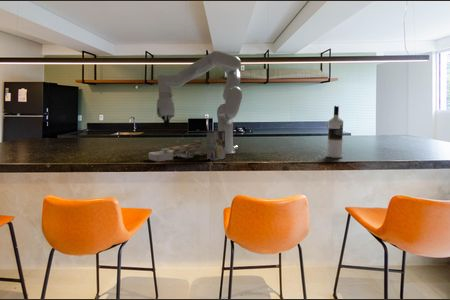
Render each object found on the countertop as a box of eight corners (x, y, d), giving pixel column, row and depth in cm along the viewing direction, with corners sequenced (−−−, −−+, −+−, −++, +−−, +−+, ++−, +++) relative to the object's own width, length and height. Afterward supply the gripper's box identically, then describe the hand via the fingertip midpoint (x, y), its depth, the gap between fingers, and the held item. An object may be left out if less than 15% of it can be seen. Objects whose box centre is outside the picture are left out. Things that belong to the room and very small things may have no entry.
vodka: (332, 155, 187) (334, 105, 183) (345, 157, 180) (348, 105, 175) (322, 156, 182) (324, 105, 178) (335, 158, 175) (338, 105, 170)
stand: (190, 152, 200) (189, 146, 200) (205, 155, 188) (205, 149, 188) (162, 156, 187) (161, 149, 186) (177, 159, 174) (177, 152, 174)
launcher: (188, 145, 200) (188, 139, 199) (202, 147, 189) (201, 141, 188) (160, 150, 186) (159, 144, 185) (173, 153, 175) (172, 146, 175)
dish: (163, 157, 181) (163, 150, 181) (173, 159, 174) (173, 152, 173) (148, 159, 175) (148, 152, 174) (157, 161, 167) (157, 154, 167)
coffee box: (217, 157, 181) (217, 130, 179) (225, 158, 177) (225, 130, 175) (206, 159, 174) (206, 131, 172) (214, 160, 170) (214, 131, 168)
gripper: (172, 96, 190) (173, 125, 193) (150, 96, 180) (152, 127, 183) (179, 95, 185) (180, 126, 187) (157, 95, 175) (159, 128, 177)
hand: (166, 126), depth 185 cm, fingers closed
